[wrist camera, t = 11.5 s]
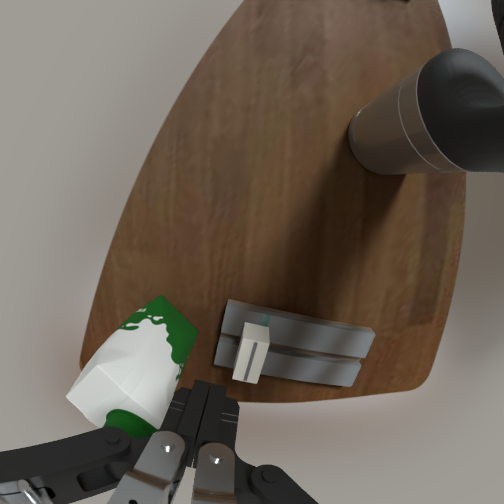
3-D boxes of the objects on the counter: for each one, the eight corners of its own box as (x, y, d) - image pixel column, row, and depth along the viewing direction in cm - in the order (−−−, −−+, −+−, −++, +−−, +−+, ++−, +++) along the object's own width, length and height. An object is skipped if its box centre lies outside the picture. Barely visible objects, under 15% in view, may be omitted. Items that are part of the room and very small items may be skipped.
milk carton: (168, 363, 40) (119, 465, 20) (124, 321, 38) (47, 406, 19) (208, 332, 38) (170, 443, 19) (160, 284, 37) (81, 368, 17)
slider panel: (370, 327, 37) (375, 334, 35) (347, 378, 39) (351, 387, 37) (228, 298, 37) (226, 305, 35) (216, 355, 39) (213, 364, 37)
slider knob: (268, 322, 36) (269, 343, 31) (257, 360, 37) (256, 384, 32) (245, 317, 36) (242, 338, 31) (235, 356, 37) (232, 379, 32)
